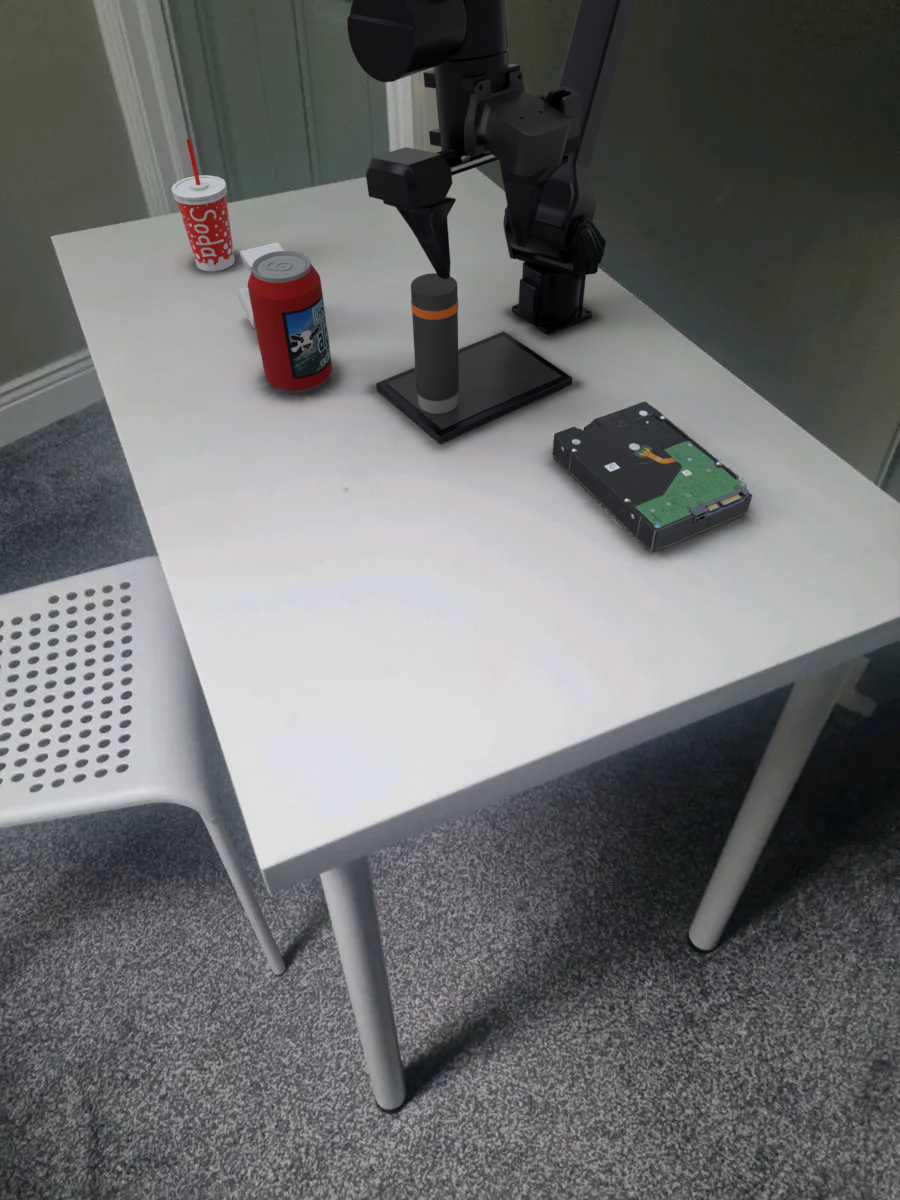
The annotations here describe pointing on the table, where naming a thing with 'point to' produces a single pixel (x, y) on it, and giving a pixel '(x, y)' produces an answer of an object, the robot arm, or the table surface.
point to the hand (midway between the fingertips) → (484, 261)
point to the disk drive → (651, 475)
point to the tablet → (481, 386)
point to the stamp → (248, 259)
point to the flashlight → (435, 342)
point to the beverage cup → (205, 218)
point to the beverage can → (290, 320)
